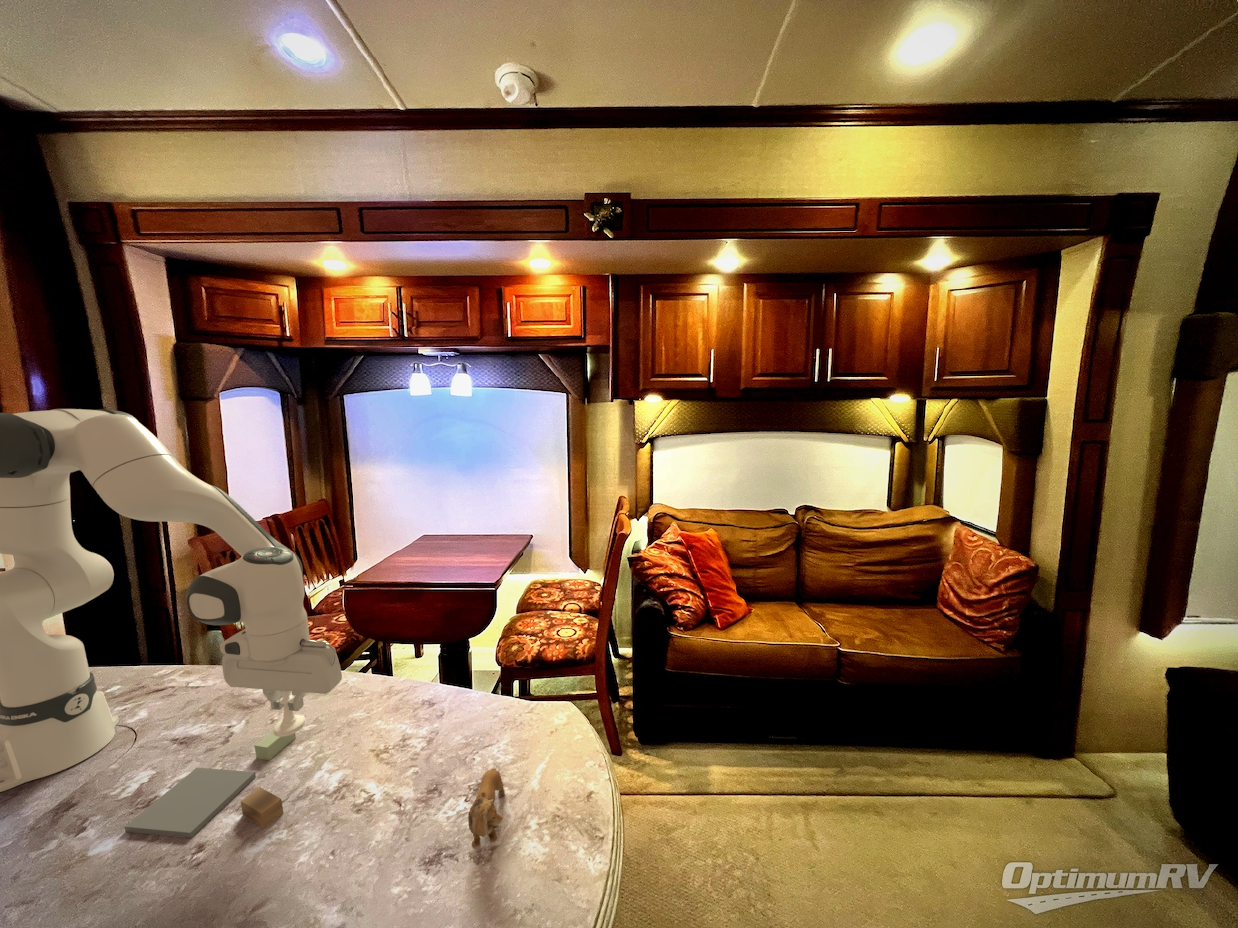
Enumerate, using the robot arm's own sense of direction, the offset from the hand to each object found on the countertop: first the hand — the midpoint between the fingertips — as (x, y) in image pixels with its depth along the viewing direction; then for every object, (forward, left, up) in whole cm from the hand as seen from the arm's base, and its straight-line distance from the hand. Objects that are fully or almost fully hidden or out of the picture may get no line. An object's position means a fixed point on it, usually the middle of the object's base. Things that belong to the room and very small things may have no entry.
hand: (287, 708), depth 85 cm
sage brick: (-10, +6, -14) cm, 18 cm away
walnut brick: (0, -8, -14) cm, 16 cm away
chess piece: (0, 0, -4) cm, 4 cm away
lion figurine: (+40, -6, -14) cm, 43 cm away
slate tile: (-14, -7, -14) cm, 21 cm away
